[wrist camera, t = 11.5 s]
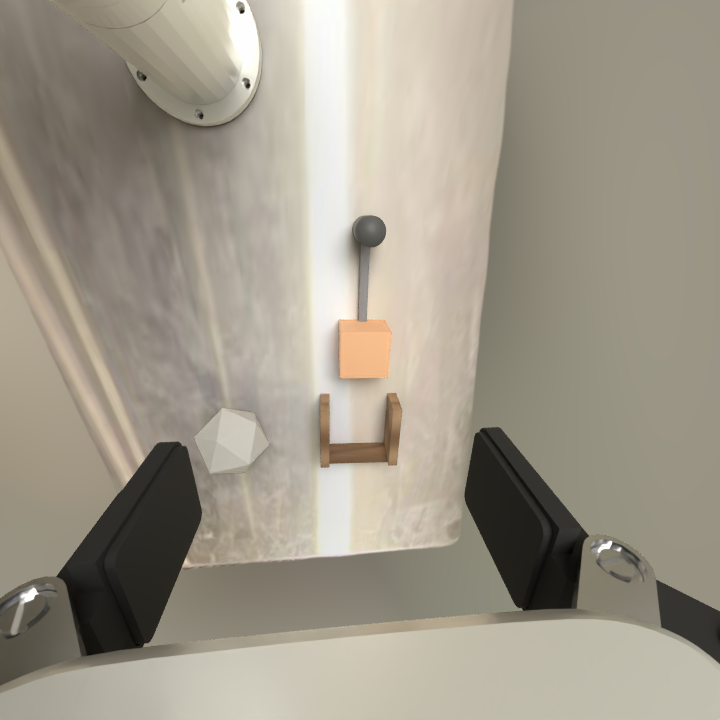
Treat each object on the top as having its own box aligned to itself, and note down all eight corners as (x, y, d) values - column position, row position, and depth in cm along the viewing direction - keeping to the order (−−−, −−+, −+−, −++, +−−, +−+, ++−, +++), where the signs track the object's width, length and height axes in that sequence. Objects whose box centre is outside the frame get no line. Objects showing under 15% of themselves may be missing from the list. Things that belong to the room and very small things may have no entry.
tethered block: (339, 214, 39) (341, 214, 33) (391, 216, 39) (401, 216, 34) (338, 362, 46) (340, 382, 40) (382, 362, 47) (389, 381, 41)
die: (219, 451, 51) (248, 496, 45) (173, 432, 44) (199, 483, 38) (258, 410, 52) (290, 449, 46) (218, 385, 45) (250, 427, 39)
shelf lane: (320, 394, 48) (320, 410, 44) (395, 393, 49) (402, 409, 45) (321, 450, 51) (320, 470, 47) (391, 448, 52) (396, 468, 48)
